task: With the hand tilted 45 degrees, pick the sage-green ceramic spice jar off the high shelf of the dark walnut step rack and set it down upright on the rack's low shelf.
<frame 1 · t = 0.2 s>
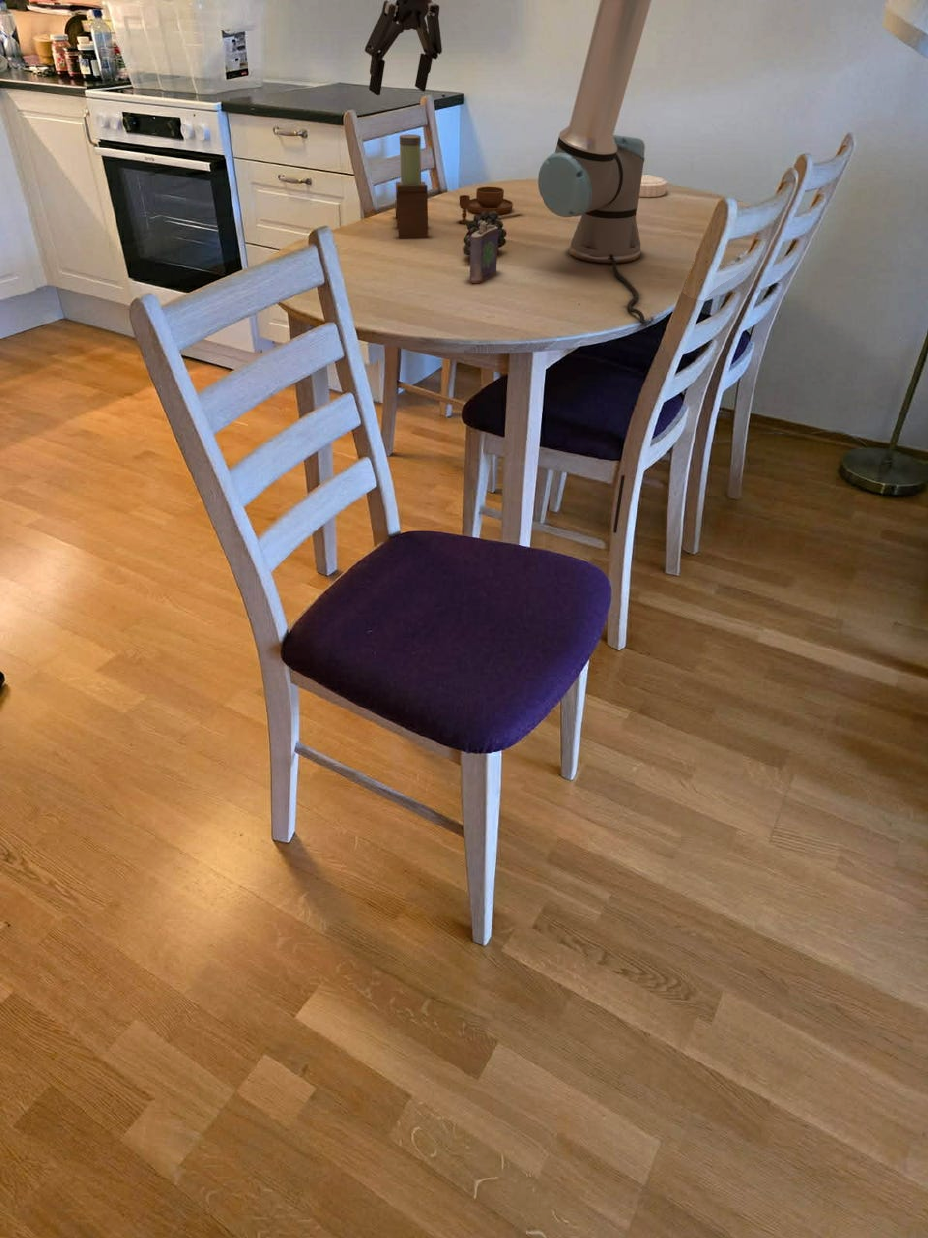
hand: (397, 90, 183), 28 cm above the table, tool tilted 20°, fingers open, 13 cm apart
spice jar: (411, 186, 191), point 10 cm above the table, touching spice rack
mooncake: (643, 193, 233), on the table
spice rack: (411, 227, 201), on the table
flask: (482, 278, 171), on the table
fruit: (479, 257, 183), on the table
place setting: (477, 212, 213), on the table
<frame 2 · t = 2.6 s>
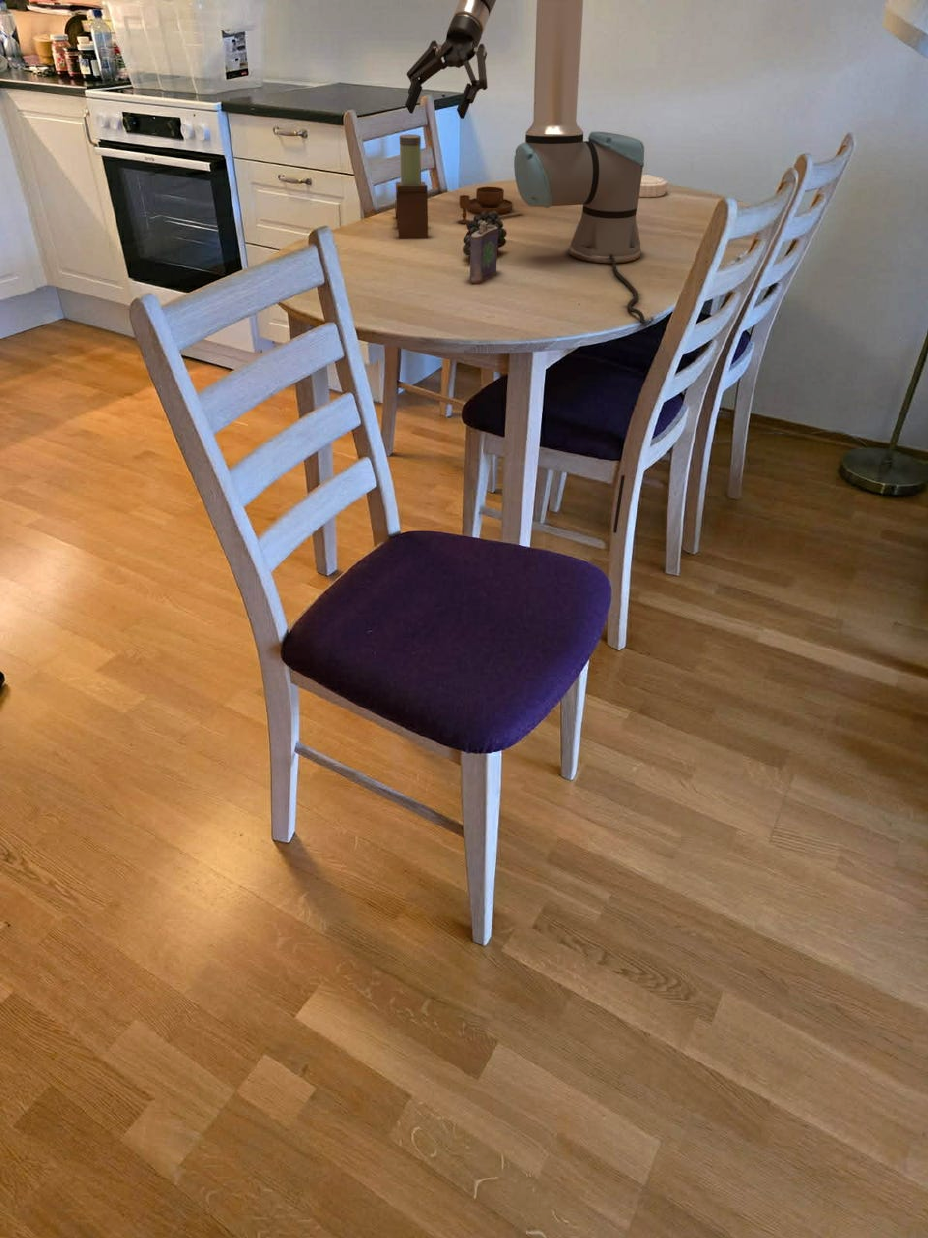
hand: (434, 111, 189), 23 cm above the table, tool tilted 45°, fingers open, 13 cm apart
nothing on the table moved.
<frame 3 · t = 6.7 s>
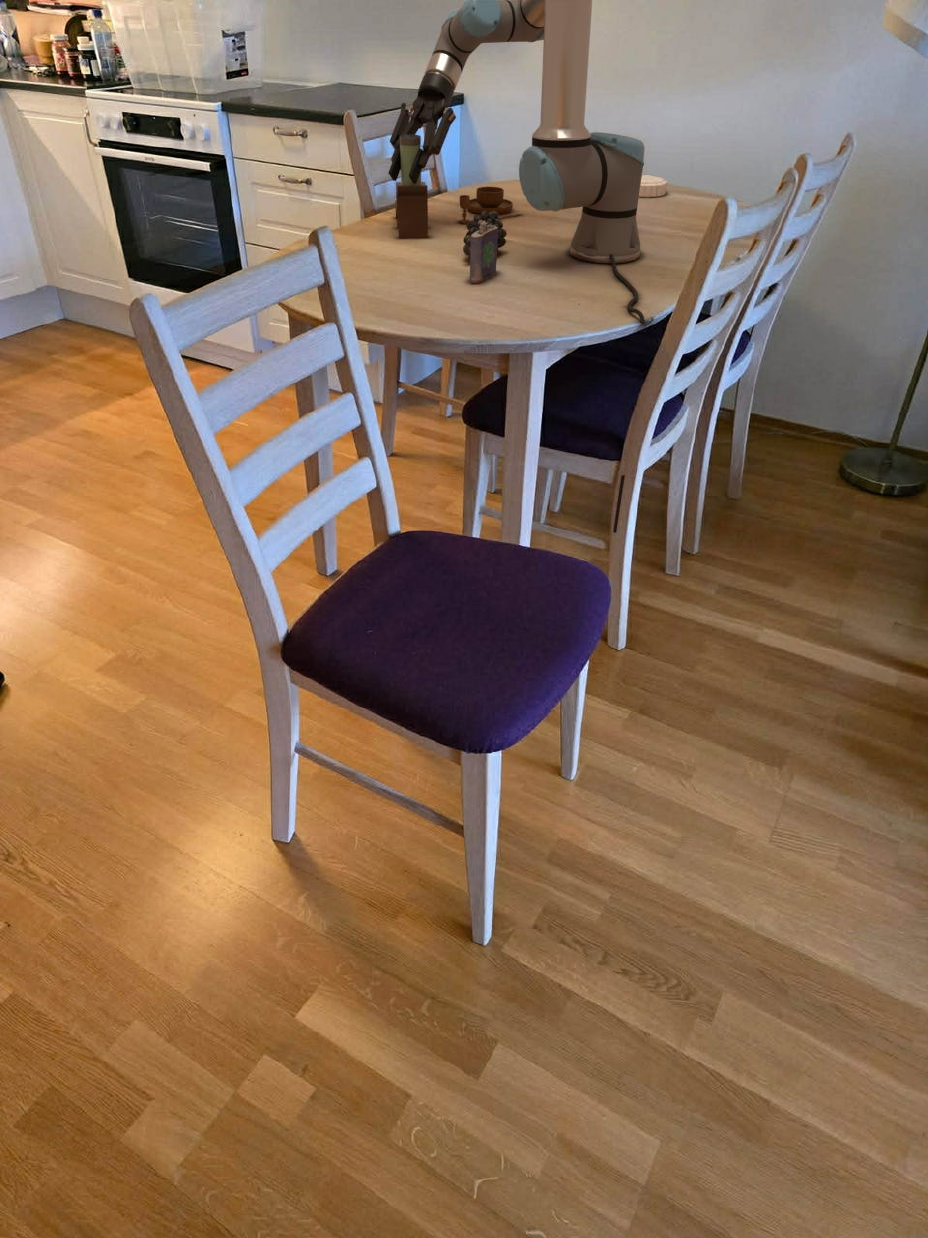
hand: (402, 177, 187), 12 cm above the table, tool tilted 45°, fingers closed on spice jar, 5 cm apart
spice jar: (411, 185, 191), point 10 cm above the table, touching gripper
everything else where it was.
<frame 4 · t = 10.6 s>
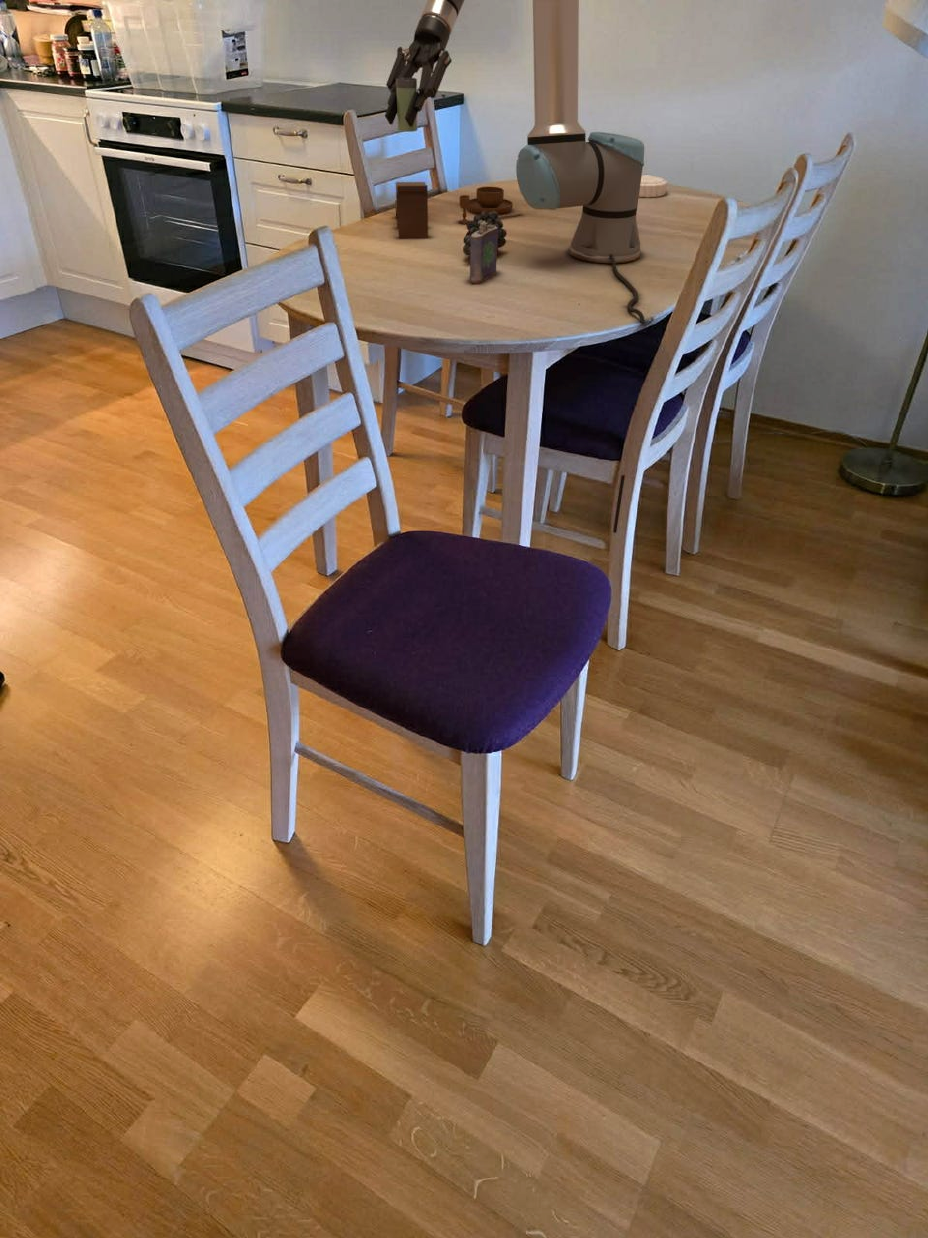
hand: (398, 120, 189), 22 cm above the table, tool tilted 45°, fingers closed on spice jar, 5 cm apart
spice jar: (407, 129, 193), point 20 cm above the table, touching gripper
everything else where it was.
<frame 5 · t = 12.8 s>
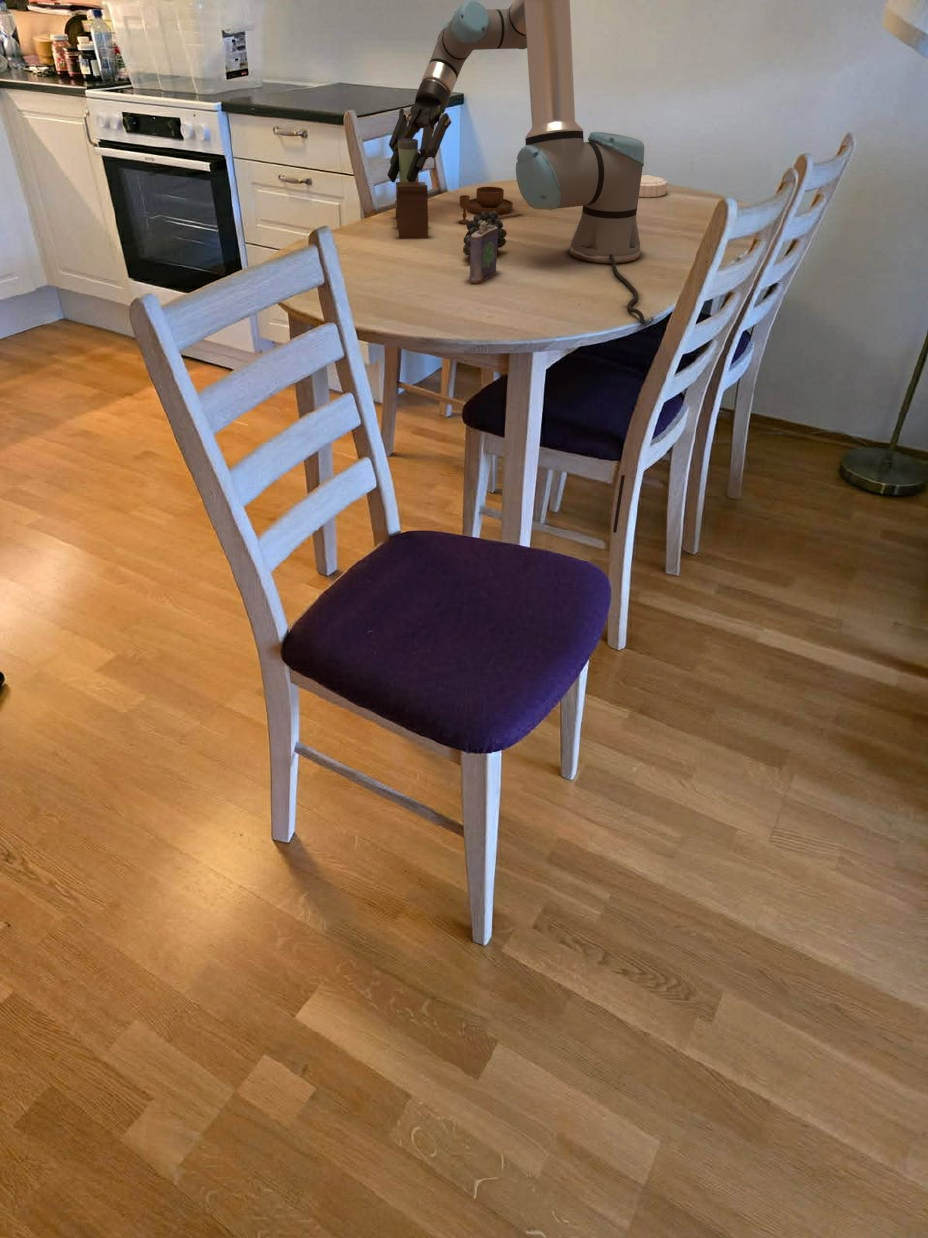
hand: (400, 179, 197), 10 cm above the table, tool tilted 45°, fingers closed on spice jar, 5 cm apart
spice jar: (409, 187, 201), point 7 cm above the table, touching gripper
everything else where it was.
when the fingers open (6 cm above the table, at t = 14.3 s): spice jar stays where it is, resting on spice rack.
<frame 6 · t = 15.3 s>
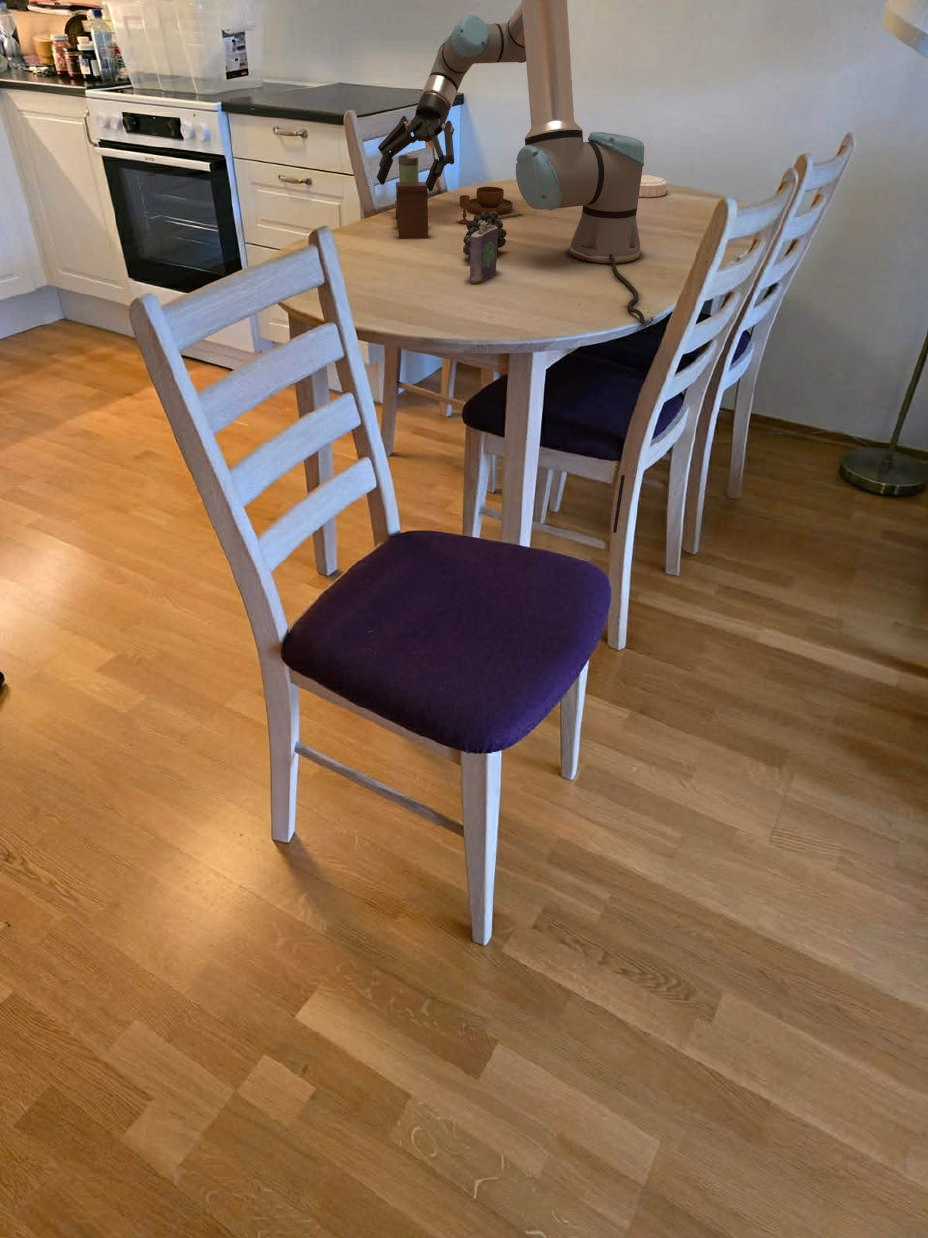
hand: (403, 184, 199), 8 cm above the table, tool tilted 45°, fingers open, 13 cm apart
spice jar: (409, 202, 203), point 4 cm above the table, touching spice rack
everything else where it was.
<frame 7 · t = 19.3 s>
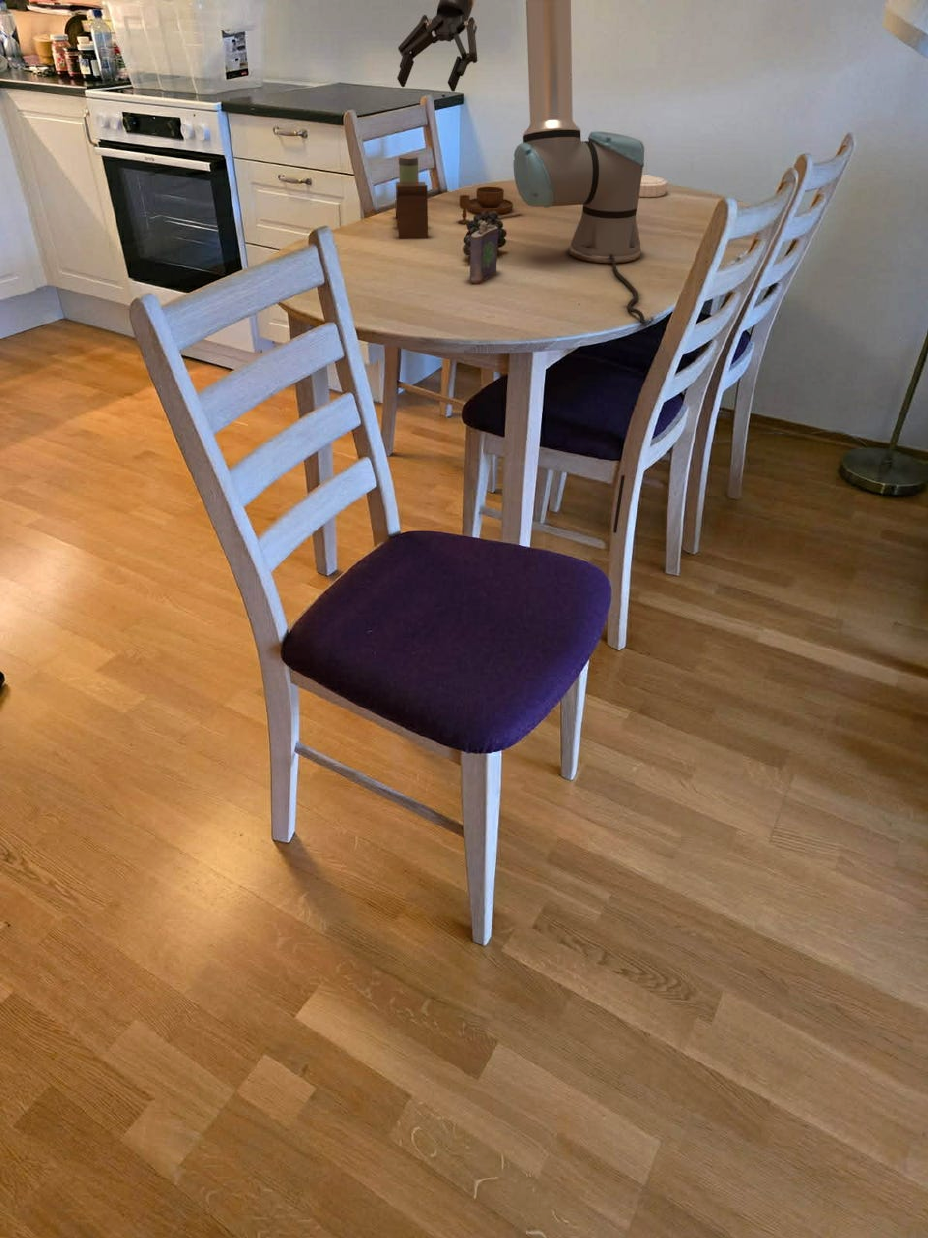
hand: (425, 84, 194), 28 cm above the table, tool tilted 45°, fingers open, 13 cm apart
nothing on the table moved.
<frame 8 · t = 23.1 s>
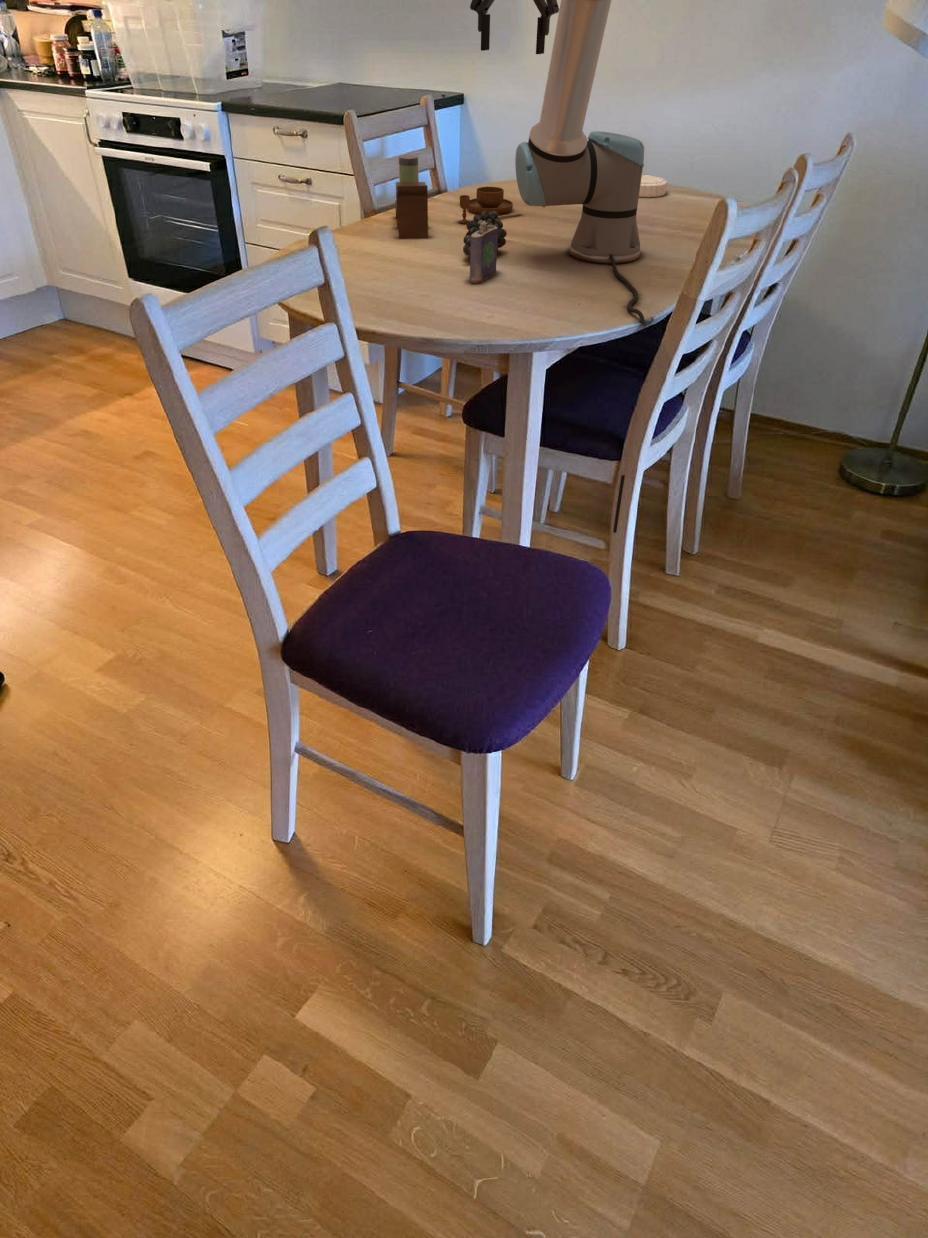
hand: (512, 51, 185), 35 cm above the table, tool pointing down, fingers open, 13 cm apart
nothing on the table moved.
at the end: spice jar inside the target area on the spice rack (1.5 cm from its centre), point 4.0 cm above the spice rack's base; spice jar tilted 0°; the gripper is holding nothing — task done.
